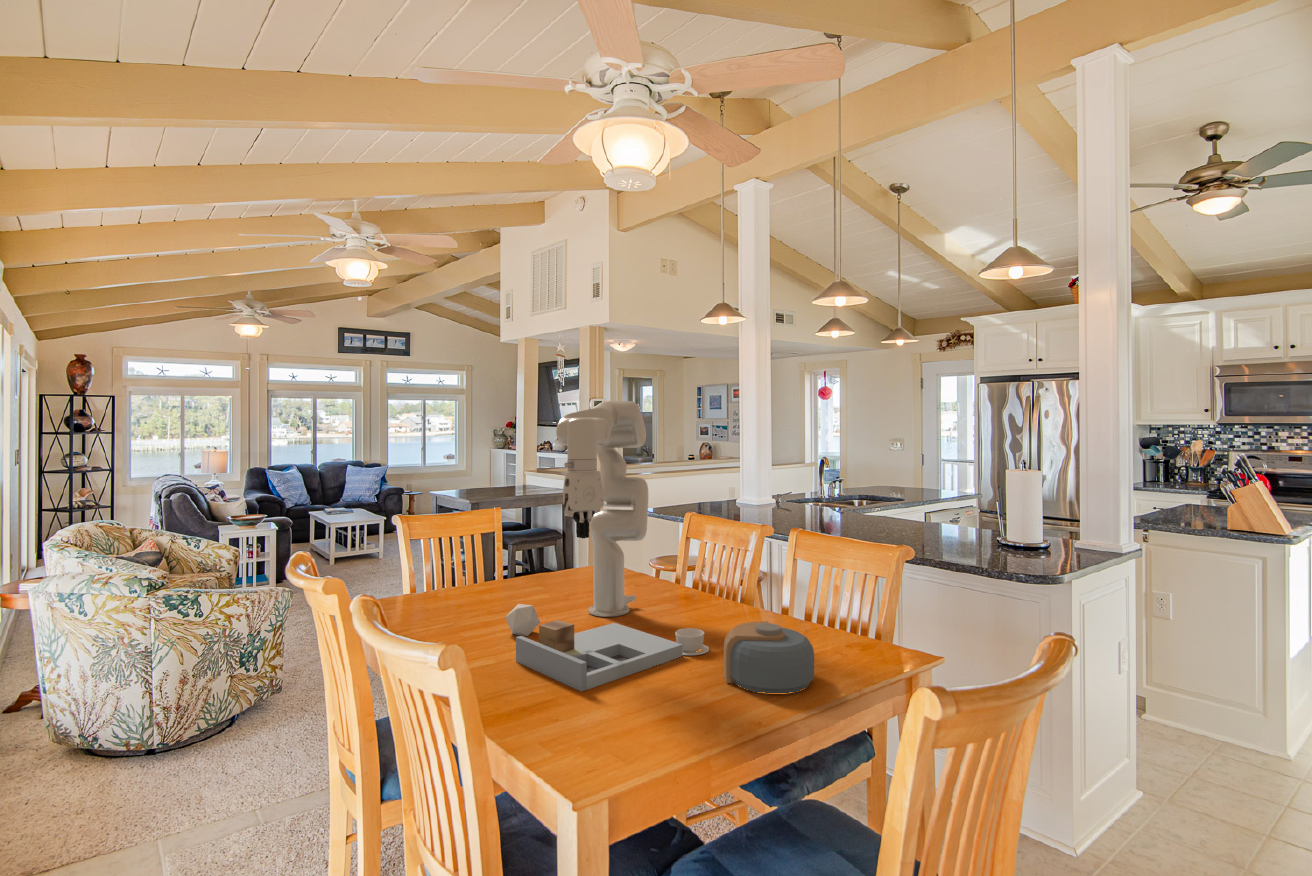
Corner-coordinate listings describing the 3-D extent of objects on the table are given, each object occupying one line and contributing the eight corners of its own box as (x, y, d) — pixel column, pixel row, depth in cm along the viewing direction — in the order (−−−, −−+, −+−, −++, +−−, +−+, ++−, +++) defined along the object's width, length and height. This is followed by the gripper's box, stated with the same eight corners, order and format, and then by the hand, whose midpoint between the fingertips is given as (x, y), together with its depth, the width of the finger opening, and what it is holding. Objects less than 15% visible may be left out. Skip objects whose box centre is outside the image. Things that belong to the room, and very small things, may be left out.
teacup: (704, 658, 164) (704, 640, 164) (666, 655, 167) (665, 636, 166) (712, 646, 173) (712, 628, 173) (675, 642, 176) (675, 625, 176)
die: (545, 633, 186) (535, 602, 191) (537, 626, 178) (528, 594, 183) (517, 645, 185) (508, 613, 190) (509, 638, 178) (499, 605, 182)
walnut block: (558, 643, 166) (558, 619, 166) (574, 649, 162) (574, 624, 162) (539, 649, 161) (539, 625, 161) (555, 655, 157) (555, 630, 157)
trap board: (614, 633, 184) (614, 611, 184) (682, 656, 165) (682, 632, 165) (515, 661, 162) (515, 637, 162) (581, 691, 143) (581, 663, 143)
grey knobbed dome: (752, 658, 163) (752, 609, 163) (828, 677, 151) (828, 624, 151) (707, 681, 149) (707, 628, 148) (788, 705, 136) (788, 646, 136)
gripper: (567, 468, 163) (567, 543, 163) (614, 465, 173) (614, 535, 173) (549, 466, 168) (550, 539, 168) (595, 464, 178) (596, 532, 179)
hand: (582, 537), depth 171 cm, fingers closed
